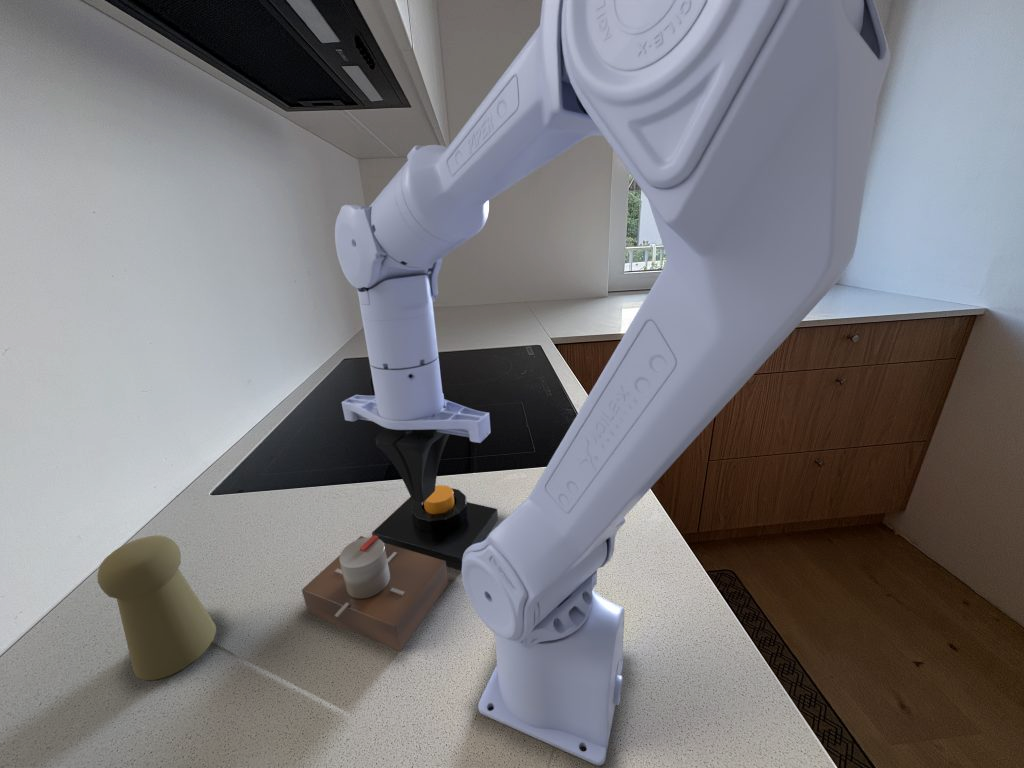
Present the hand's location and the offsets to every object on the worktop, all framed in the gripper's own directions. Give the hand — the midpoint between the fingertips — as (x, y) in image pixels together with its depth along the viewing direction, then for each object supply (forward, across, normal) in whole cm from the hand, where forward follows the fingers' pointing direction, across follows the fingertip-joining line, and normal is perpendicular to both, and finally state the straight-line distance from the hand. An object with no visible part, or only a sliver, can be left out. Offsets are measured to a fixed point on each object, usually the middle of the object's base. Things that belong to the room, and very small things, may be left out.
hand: (423, 494), depth 40 cm
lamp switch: (+10, +4, -6) cm, 13 cm away
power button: (+7, +4, -7) cm, 11 cm away
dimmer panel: (+10, +4, +4) cm, 12 cm away
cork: (+11, +18, +15) cm, 26 cm away
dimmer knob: (+7, +4, +5) cm, 10 cm away
